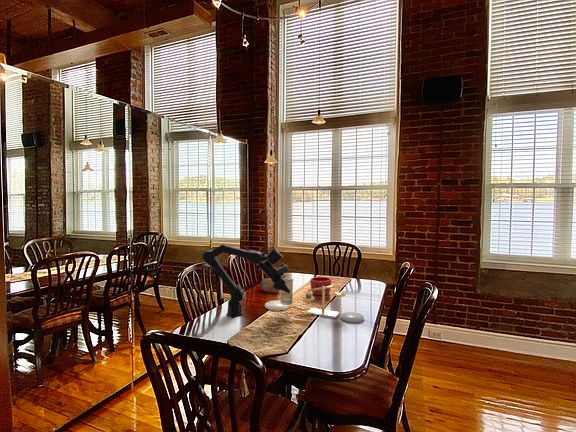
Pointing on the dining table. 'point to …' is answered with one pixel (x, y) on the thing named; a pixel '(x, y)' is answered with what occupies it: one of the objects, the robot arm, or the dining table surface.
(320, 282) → the plant pot
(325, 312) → the brass balance
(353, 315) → the slate dish
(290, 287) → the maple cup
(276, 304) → the cream dish
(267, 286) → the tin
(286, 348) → the dining table surface
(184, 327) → the dining table surface
